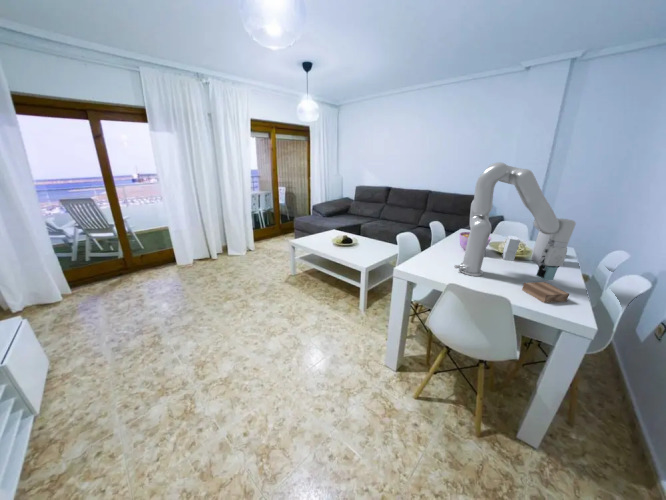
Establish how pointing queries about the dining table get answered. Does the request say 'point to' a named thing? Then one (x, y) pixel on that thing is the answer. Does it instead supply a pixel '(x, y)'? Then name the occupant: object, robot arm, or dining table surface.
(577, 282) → the dining table surface
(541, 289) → the walnut plinth
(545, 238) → the cylinder vase
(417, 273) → the dining table surface
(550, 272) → the teal block
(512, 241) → the skincare box
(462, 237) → the bowl of food
